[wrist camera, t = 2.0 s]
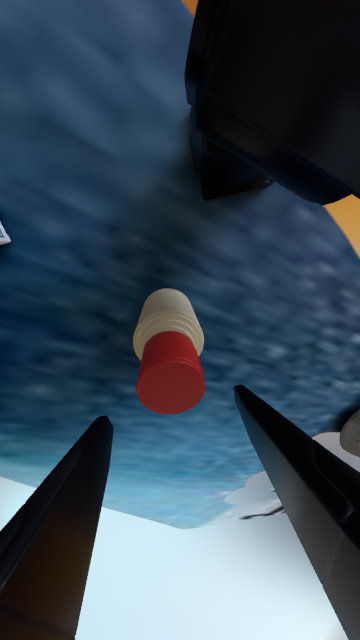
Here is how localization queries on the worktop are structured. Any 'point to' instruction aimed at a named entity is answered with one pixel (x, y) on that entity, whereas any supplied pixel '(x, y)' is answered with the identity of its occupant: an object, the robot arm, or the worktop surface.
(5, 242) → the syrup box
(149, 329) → the bottle
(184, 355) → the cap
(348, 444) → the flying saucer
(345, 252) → the worktop surface
